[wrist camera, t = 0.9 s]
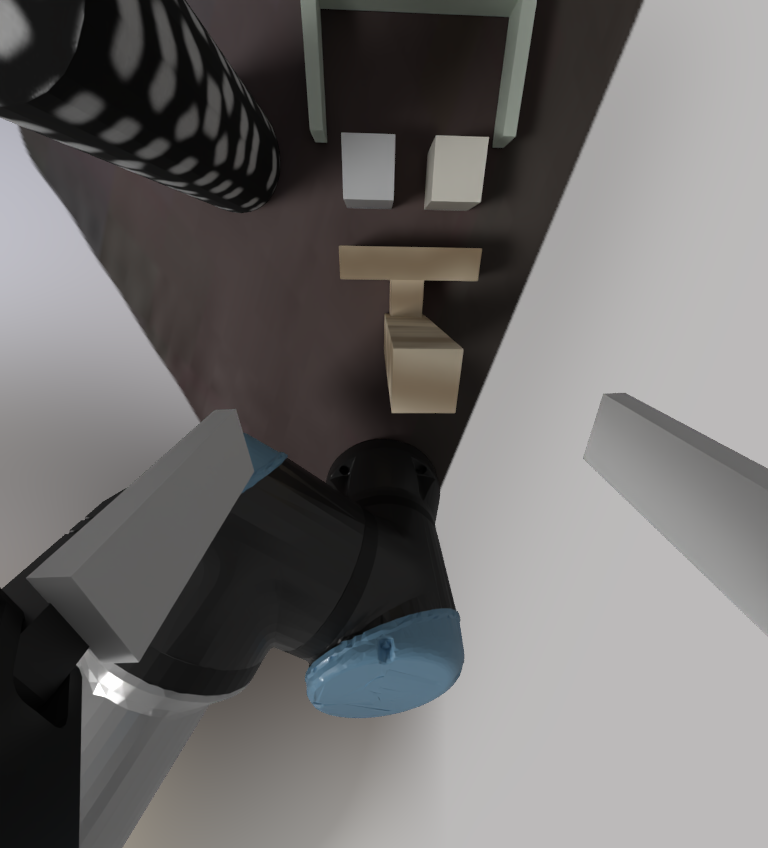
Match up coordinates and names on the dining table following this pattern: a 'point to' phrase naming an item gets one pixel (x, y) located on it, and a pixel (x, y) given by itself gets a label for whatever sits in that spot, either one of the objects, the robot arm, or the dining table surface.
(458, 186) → the off-white cube
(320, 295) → the dining table surface
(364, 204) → the gray cube
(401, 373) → the cream t-shaped block
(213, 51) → the spotted tube
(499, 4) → the bay
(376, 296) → the dining table surface
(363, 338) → the dining table surface
